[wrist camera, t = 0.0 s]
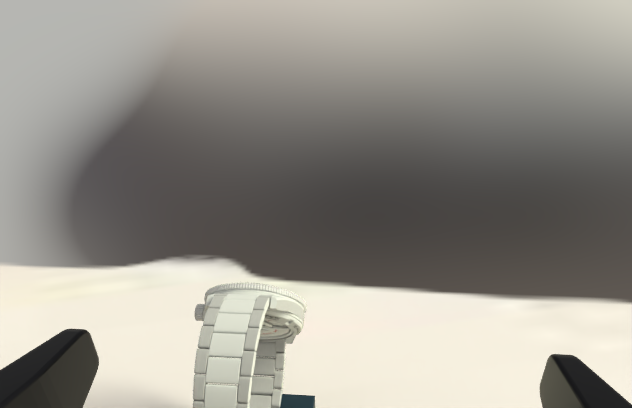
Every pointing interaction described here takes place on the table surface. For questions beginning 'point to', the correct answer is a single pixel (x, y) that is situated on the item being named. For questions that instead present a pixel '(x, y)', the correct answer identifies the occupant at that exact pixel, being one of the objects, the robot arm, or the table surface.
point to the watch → (246, 346)
